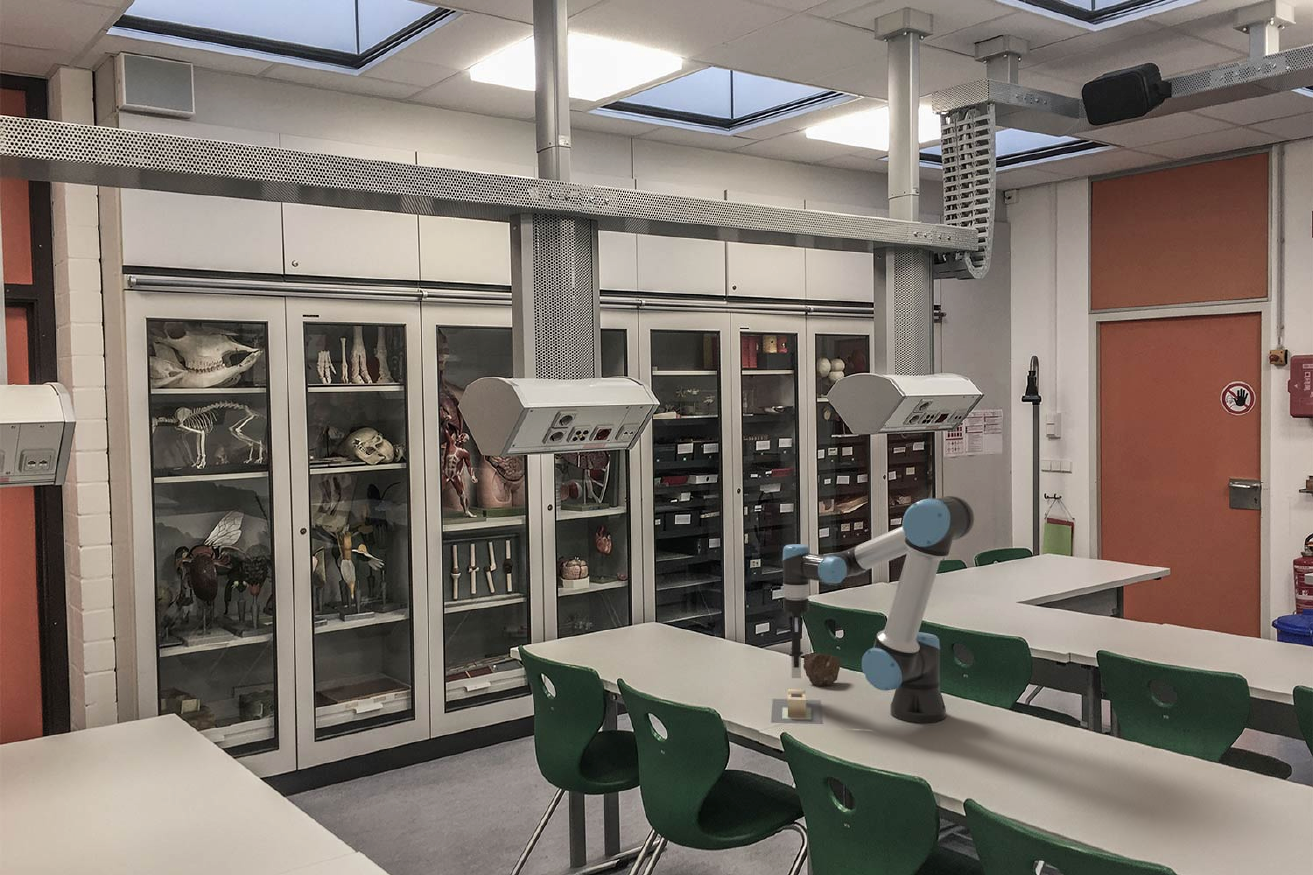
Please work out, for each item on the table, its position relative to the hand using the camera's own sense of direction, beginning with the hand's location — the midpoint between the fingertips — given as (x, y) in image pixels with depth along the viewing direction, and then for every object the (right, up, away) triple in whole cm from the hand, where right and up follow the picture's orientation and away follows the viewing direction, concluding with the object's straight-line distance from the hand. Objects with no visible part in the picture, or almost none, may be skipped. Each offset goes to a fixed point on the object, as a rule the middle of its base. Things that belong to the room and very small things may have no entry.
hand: (796, 677), depth 304 cm
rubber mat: (-1, -8, -10) cm, 13 cm away
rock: (+11, -7, +17) cm, 21 cm away
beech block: (-1, -4, -7) cm, 8 cm away
